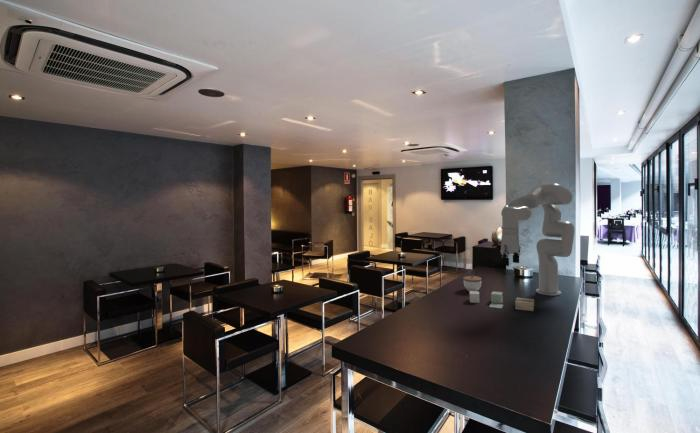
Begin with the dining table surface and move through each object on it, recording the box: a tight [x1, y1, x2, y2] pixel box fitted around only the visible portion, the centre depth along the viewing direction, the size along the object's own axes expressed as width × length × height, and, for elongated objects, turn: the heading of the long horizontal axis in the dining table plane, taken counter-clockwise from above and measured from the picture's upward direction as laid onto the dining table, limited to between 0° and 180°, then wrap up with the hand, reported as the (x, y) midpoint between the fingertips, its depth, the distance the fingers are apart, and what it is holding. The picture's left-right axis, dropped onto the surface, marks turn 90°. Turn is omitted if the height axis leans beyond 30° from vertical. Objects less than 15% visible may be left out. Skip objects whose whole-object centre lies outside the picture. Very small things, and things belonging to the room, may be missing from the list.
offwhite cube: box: [468, 290, 480, 304], centre depth 185 cm, size 5×5×5 cm
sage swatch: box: [488, 303, 504, 310], centre depth 176 cm, size 6×6×1 cm
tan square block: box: [514, 297, 535, 312], centre depth 172 cm, size 8×8×4 cm
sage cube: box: [490, 291, 504, 304], centre depth 183 cm, size 5×5×5 cm
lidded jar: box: [462, 275, 482, 292], centre depth 206 cm, size 11×11×9 cm
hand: (510, 264), depth 172 cm, fingers open, 9 cm apart
